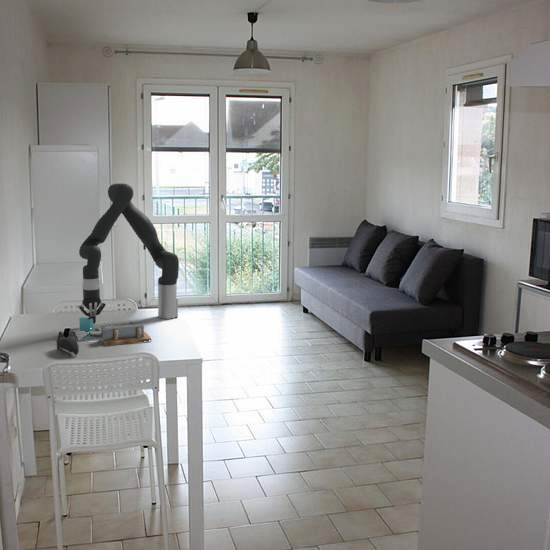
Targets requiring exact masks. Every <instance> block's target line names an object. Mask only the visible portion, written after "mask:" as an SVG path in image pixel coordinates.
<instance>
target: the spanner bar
mask: <svg viewBox="0 0 550 550" xmlns="http://www.w3.org/2000/svg"><path fill="white" fill-rule="evenodd" d="M100 328H101V338H102V340H103V341H108V340H114V331H115V330H117V331H118V339H125V338H137V329H141V337H144V332H145V327H144V325H143V324H142V323H135V324H126V325H125V324H123V325H111V326H110V325H109V326H108V325H106V326H105V325H104V326H100ZM102 340H101V341H102ZM103 341H102V342H103Z"/></svg>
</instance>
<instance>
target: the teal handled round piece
mask: <svg viewBox="0 0 550 550" xmlns="http://www.w3.org/2000/svg"><path fill="white" fill-rule="evenodd" d="M78 319H79V320H78V321H79V330H80V331H85V332H89V334H90V335H94V336H100V335H101V327H96V328H95V327H94V324H93V319H91V318H89V317H87V316H86V317H85V316H81V317H79V318H78Z"/></svg>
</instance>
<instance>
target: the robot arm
mask: <svg viewBox="0 0 550 550" xmlns="http://www.w3.org/2000/svg"><path fill="white" fill-rule="evenodd" d="M107 196H108V197H109V198H108V199H109V200H110V201H111V205H110V207H109V208H107V210H106V211H105V212H104V213H103V215H101V217H100V218H99V219H98V221H97V222H96V223H95V225H94V227H93V229H92V231H91V233H90V234H89V235H88V236H87V237H86V238H85V240H84V241H83V242H82V244H81V245H80V246H79V250H78V251H79V252H78V254H79V257H80V258H82V259H84V260H87V263H86V265H83V267H82V298H83V299H82V302H81V304H80V305H79V304H78V305H77V308H78V309H79V310H80V311H81V312H82V314H83V315H85V316H86V317H88V318H91V319H93V325H96V323H97V321H96V320H97V319H96V317H97V316H98V315H100V314H101V313H102V311H103V310H104V308H105V307H106V305H107V304H106V303H105V302H103V301H102V300H101V291H100V289H101V288H100V287H101V285H100V278H99V277H100V276H99V267H100V265H101V259H102V252H101V249H100V247H99V246H98V245H100V244H103V243H105V241H106V240H107V238H108V236H109V234H110V233H111V230H112V228H113V227H114V225H115V223H116V222H117V220H118V219H119V217H120V216H121V214H122V215H123V217H124V218H125V220H126V221H127V223H128V225H129V226H130V227H131V229H132V231H133V232H134V233H135V235H136V236H137V237H138V239H139V240H140V242H141V243H142V244H143V246H144V247H145V248H146V249H147V251H148V253H149V255H150V256H151V258H152V260H153V262H154V263H155V265H156V266H157V268H159V269H161V276H160V277H158V279H157V304H158V305H157V309H158V310H157V315H158V318H159V319H163V320H170V319H171V318H173V319H176V318H175V317H179V304H178V303H179V299H178V298H177V297H178V295H177V293H178V292H177V291H178V289H177V288H178V286H177V285H178V284H177V281H178V278H179V269H180V268H179V267H180V266H179V265H180V262H179V260H180V259H179V256H178V255H177V254H176V253H175V252H170V251H167V250H166V249H165V248H164V246H163V244H161V242H160V239H159V237H158V232H157V229H156V228H155V225H154V224H153V222H152V221H151V220H150V218H149V217H148V216H147V214H145V213H143V212H142V211H141V210H140V209H139V208H137V207H136V206H135V204H134V203H132V199H133V198H134V189H133V187H132V186H131V185H130V184H128V183H113V184H111V185H110V186H109V187H108V189H107ZM85 309H87V311H86V310H85ZM171 320H172V319H171Z"/></svg>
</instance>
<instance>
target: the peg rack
mask: <svg viewBox="0 0 550 550" xmlns="http://www.w3.org/2000/svg"><path fill="white" fill-rule="evenodd" d="M100 340H101V341H102V343H103V344H104V346H105V347H106V346H107V347H108V346H118V345H119V346H120V345H130V344H138V343H139V342H144V341H149V340H151V341H152V338H151V336H150V335H149V334H148V333H147V332H146V331H144V337H141V329H137V338H125V339H118V331H117V330H115V331H114V340H108V341H103V340H102V338H101V339H100ZM144 343H145V342H144ZM139 344H140V343H139Z"/></svg>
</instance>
